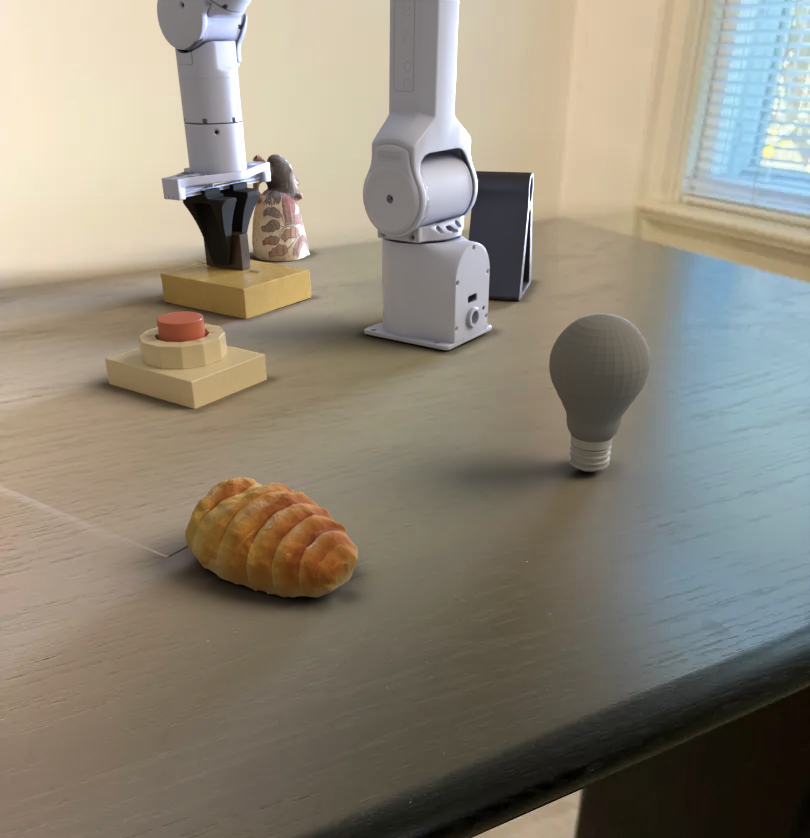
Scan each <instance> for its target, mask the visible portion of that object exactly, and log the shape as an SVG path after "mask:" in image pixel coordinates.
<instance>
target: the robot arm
mask: <svg viewBox="0 0 810 838" xmlns="http://www.w3.org/2000/svg"><path fill="white" fill-rule="evenodd" d="M252 1H253V0H157V2H156V14H157V21H158V26H159V29H160V30H161V33H162V36H163V37H164V38H165V40H166V41H167V43H168V44H169V45H170V46H171V47H173V48H174V51H175V52H174V53H175V59H176V66H177V76H178V85H179V94H180V100H181V101H180V103H181V108H182V109H181V111H182V118H183V126H184V134H185V141H186V142H185V143H186V150H187V158H188V167H184V168H183V171H181V172H179V173H176V174H173V175H170V176H166V177H162V178H161V184H162V185H161V187H162V192H163V199H164V200H170V201H172V200H173V201H182V204H183V205H184V207H185V208H186V209H187V211H188V212H189V214H190V215H191V216H192V218H193V220H194V222H195V223H196V225H197V227H198V229H199V231H200V234H201V236H202V238H203V241H204V240H205V243H206V246H207V248H208V251H209V254H210V257H211V259H212V262H213V264H218V265H225V266H228V265H231V262H232V231H236V232H244V233H248V230H249V226H250V221H251V218H252V217H253V216H252V215H253V214H254V210H255V206H256V203H257V201H258V199H259V192H260V191H259V192H258V189H256V188H253V187H248V185H251V184H252V185H253V183H257V182H262V183H265V182H269V181H271V176H270V163H269V162H267V161H265V162H259V161H254V162H253V161H248V162H247V157H246V146H245V135H244V133H245V132H244V123H243V113H242V103H241V102H242V101H241V93H240V92H241V90H240V79H239V70H238V69H240V67H241V65H240V63H242V51H241V49H242V43H243V41H244V39H245V36H246V32H247V27H248V14H247V13H245V12H246V10H247V8H248V7H249V6H250V4H251V2H252ZM459 11H460V0H389V73H388V74H389V76H388V77H389V78H388V79H389V81H388V85H389V86H388V92H389V93H388V115H387V117H386V118H385V121H384V122H383V124H382V126H380V129H379V130H378V132H376V135H375V137H374V138H373V139H372V142H371V160H370V165H369V169H368V171H367V174H366V176H365V178H364V181H363V187H362V201H363V202H362V203H363V206H364V211H365V213H366V215H367V218H368V219H369V221H370V223H371V224H372V225H373V227H374V228H375V229H376V230H377V238H379V239H381V271H382V272H381V277H382V278H381V279H382V321H381V322H377V323H376V324H373V325H370V326H368V327H365V328H364V329H363V333H364V334H365V335H367V336H371V337H372V336H373V337H377V338H382V339H387V340H392V341H396V342H402V343H406V344H411V345H416V346H421V347H425V348H426V347H427V348H431V349H436V350H441V351H450V350H453V349H454V348H455V349H456V348H457V347H458V346H461V345H463V344H465V343H467V342H469V341H471V340H473V339H475V338H478V337H479V336H482V335H485V334H486V333H488V332H490V331H491V330H492V325H491V324H489V323H488V322H489V302H490V301H489V300H490V299H489V275H490V265H489V257H488V254H487V251H486V249H485V247H484V246H483V245H481V244H479V243H477V242H473V241H469V239H467V238H466V237H465V236H464V235H463V230H464V229H465V217H466V216H467V215H468V214H470V213H471V209H472V207H473V205H474V203H475V201H476V197H477V191H478V183H477V176H476V173H475V172H476V170H475V167H474V164H473V160H472V155H471V151H472V150H471V146H472V145H471V144H472V139H471V136H470V133H468V132H467V130H466V128H464V126H463V125H462V124H461V122H460V121H459V120H458V119H457V117H456V114H455V108H456V107H455V105H456V104H455V103H456V84H457V60H458V37H459V35H458V34H459Z"/></svg>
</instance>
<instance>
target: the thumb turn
mask: <svg viewBox="0 0 810 838" xmlns="http://www.w3.org/2000/svg"><path fill="white" fill-rule="evenodd" d="M203 246H204V253H205V261H206V264H207V265H208V266H215V267H223V268H230V269H237V270H245V269H248V268H251V265H250V260H251V256H250V244H249V233H248V232H247V233H244V232H236V231H232V262H231V265H228V266H225V265H218V264H213V262H212V259H211V257H210V254H209V251H208V248H207V246H206V243H205V240H204V239H203Z"/></svg>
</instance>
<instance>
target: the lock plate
mask: <svg viewBox="0 0 810 838" xmlns="http://www.w3.org/2000/svg"><path fill="white" fill-rule="evenodd" d="M250 265H251V268H248V269H245V270H237V269H230V268H223V267H215V266H208V265H207V264H206V260H201V259H199V260H197V263H196V264H193V265H188V266H184V267H181V268H177V269H173V270H169V271H164V272H161V273H160V279H161V287H162V294H163V299H164V300H163V301H164V303H167V304H168V303H169V304H173V305H178V306H183V307H188V308H192V309H197V310H201V311H205V312H210V313H211V312H212V313H215V314H221V315H225V316H230V317H235V318H239V319H244V320H248V319H252V318H253V317H258V316H259V315H263V314H266V313H268V312H272V311H275V310H278V309H281V308H284V307H287V306H290V305H292V304H296V303H299V302H302V301H306V300H308V299H311V298H312V285H311V270H310V268H303V267H298V266H291V265H286V264H285V265H284V264H279V263H273V262H268V261H262V260H261V261H260V260H254V259H250Z"/></svg>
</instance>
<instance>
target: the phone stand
mask: <svg viewBox="0 0 810 838" xmlns="http://www.w3.org/2000/svg"><path fill="white" fill-rule="evenodd" d="M475 173H476V176H477V183H478V191H477V197H476V201H475V203H474V205H473V207H472V209H471V210H470V219H469V220H470V221H469V230H468V231H469V232H468V240H469V241H473V242H477V243H479V244H481V245H483V246H484V247H485V249H486V251H487V254H488V257H489V265H490V275H489V300H500V301H501V300H502V301H515V302H516V301H517V302H520V301H521V299H522V297H523V296H524V294H525V293H526V291H527V289H528V287H529V286H530V285H531V283H532V279H533V278H532V277H533V276H532V275H533V198H534V197H533V196H534V186H535V185H534V183H535V182H534V181H535V179H534V177H535V176H534V172H527V171H526V172H525V171H524V172H522V171H490V170H489V171H487V170H485V171H484V170H475Z"/></svg>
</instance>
